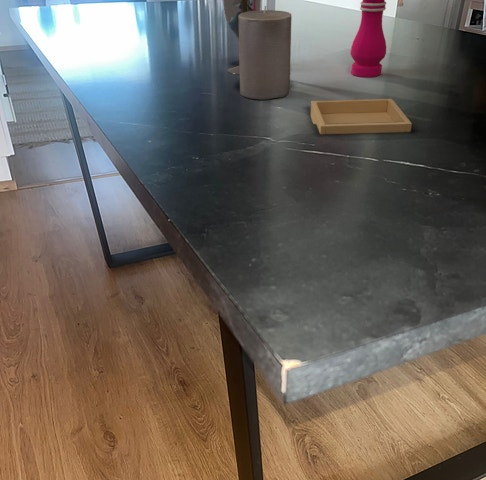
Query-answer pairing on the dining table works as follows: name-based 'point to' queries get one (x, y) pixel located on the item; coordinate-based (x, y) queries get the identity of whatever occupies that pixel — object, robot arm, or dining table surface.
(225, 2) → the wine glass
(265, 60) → the pillar candle
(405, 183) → the dining table surface
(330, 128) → the tray
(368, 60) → the pepper mill
